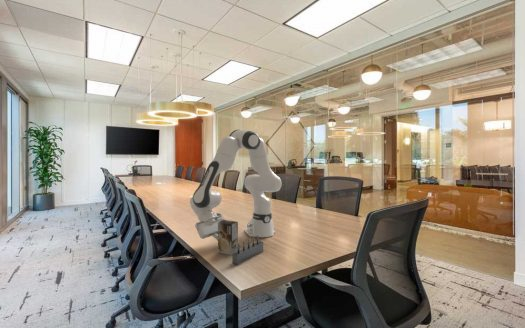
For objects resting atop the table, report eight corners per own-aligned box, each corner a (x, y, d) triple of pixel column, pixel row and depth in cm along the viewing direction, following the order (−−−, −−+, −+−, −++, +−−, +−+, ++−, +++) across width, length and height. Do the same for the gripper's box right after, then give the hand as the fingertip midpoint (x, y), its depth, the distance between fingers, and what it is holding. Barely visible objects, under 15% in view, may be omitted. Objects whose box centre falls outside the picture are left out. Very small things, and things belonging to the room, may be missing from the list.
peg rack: (231, 263, 122) (231, 245, 122) (258, 250, 141) (258, 233, 140) (237, 265, 120) (237, 246, 120) (263, 251, 139) (263, 234, 138)
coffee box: (238, 251, 139) (238, 221, 138) (232, 255, 133) (232, 224, 132) (224, 248, 143) (224, 219, 142) (217, 252, 137) (217, 222, 136)
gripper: (196, 220, 136) (210, 242, 131) (223, 213, 153) (236, 232, 148) (191, 227, 139) (203, 248, 134) (217, 219, 156) (230, 238, 151)
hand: (220, 240), depth 141 cm, fingers closed
